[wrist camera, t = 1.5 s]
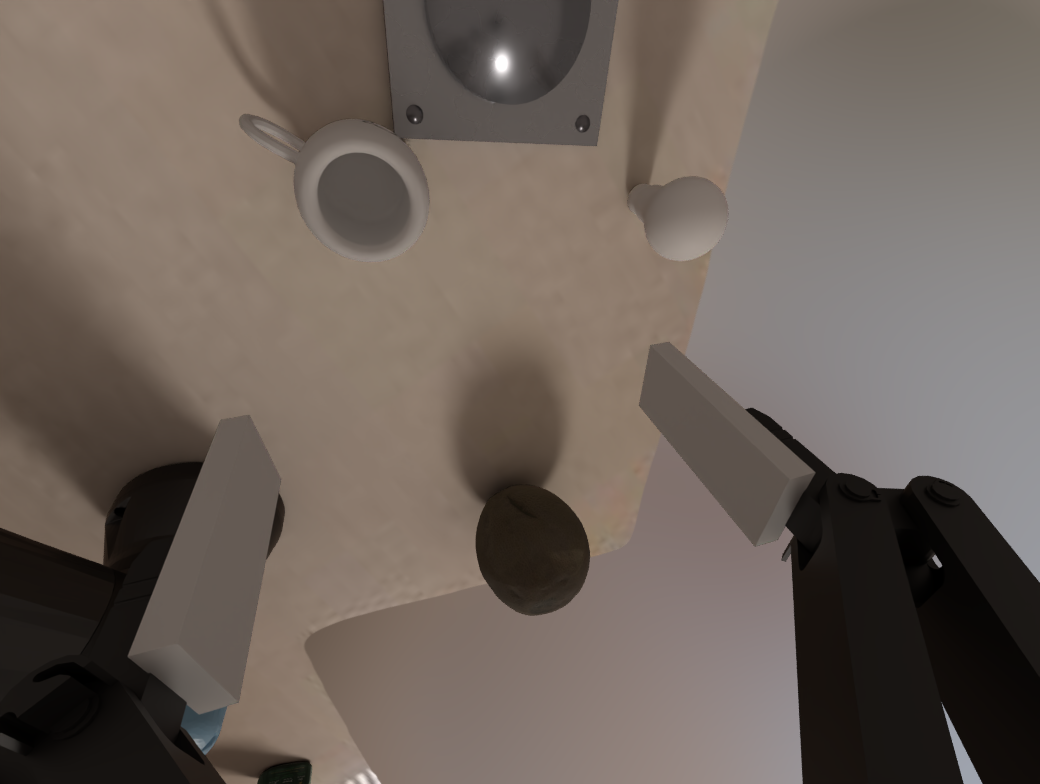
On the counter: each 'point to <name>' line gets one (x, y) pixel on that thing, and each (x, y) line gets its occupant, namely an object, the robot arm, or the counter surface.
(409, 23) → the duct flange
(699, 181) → the lightbulb
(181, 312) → the counter surface
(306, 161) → the mug
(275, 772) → the coffee jar
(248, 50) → the counter surface
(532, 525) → the coconut
